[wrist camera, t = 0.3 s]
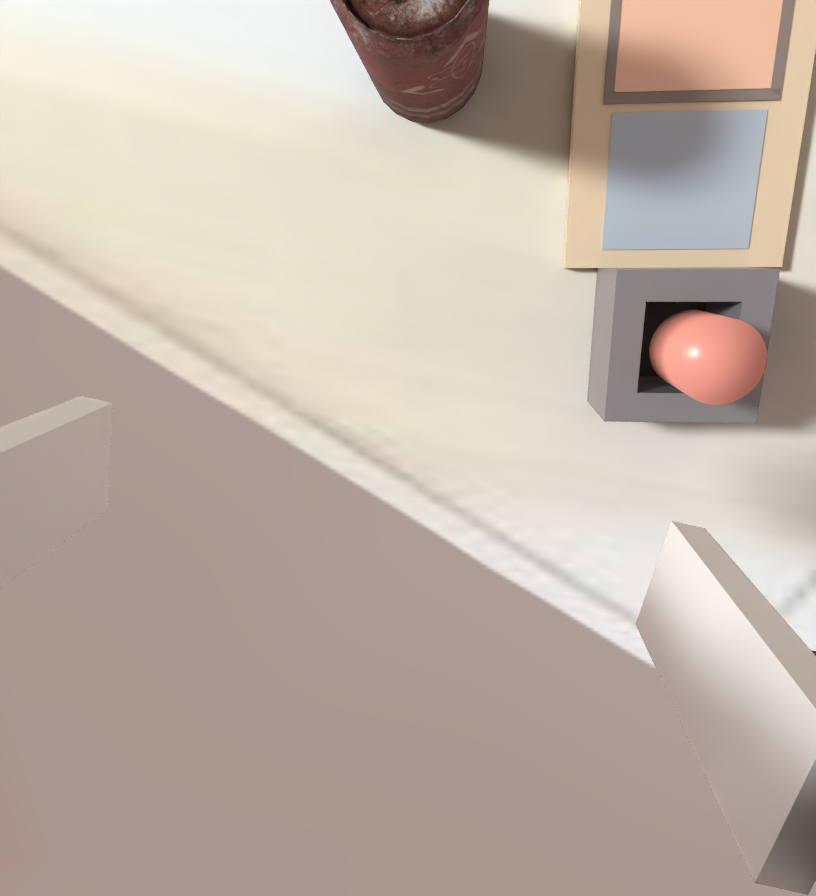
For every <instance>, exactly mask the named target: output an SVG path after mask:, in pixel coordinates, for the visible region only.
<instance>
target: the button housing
mask: <svg viewBox="0 0 816 896" xmlns="http://www.w3.org/2000/svg"><path fill="white" fill-rule="evenodd" d="M779 272H780V269H770V268H751V267H683V268H597V281H596V294H595V307H594V321H593V334H592V347H591V361H590V374H589V387H588V400H587V401H588V402H589V404H590V405H591V406H592V407H593V408H594V410H595V411H596V412H597V413H598V414H599V416H600V417H601V418H602V419H603V420H604V421H619V422H696V423H756V421H757V414H758V408H759V401H760V395H761V388H762V382H763V375H764V373H763V375H762V377H761V379H760V381H759V382H758V384H757V385H756V386H755V387H754V389H753V390H751V391H750V392H749V393H748V394H747V395H745V396H744V397H742V398H740V399H739V400H737V401H734V402H731V403H728V404H723V405H709V404H704V403H701V402H698V401H696V400H695V399H693V398H691V397H690V396H688V395H687V394H685V393H683V392H682V391H680V390H679V389H677V388H676V387H674V386H672V385H671V384H669V383H668V382H666V381H665V380H663V379H662V378H661V377H659V376H639V368H640V358H641V348H642V337H643V327H644V317H645V307H646V302H706V307H705V312H709V313H713V314H717V315H721V316H726V317H730V318H734V319H738V320H741V321H744V322H746V323H748V324H750V325H751V326H752V327H754V328H755V329H756V330H757V331H758V332H759V334H760V335H761V336H762V338H763V340H764V343H765V346H766V350H767V349H768V343H769V337H770V330H771V324H772V317H773V311H774V304H775V298H776V291H777V285H778V278H779Z"/></svg>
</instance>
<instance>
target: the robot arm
mask: <svg viewBox="0 0 816 896" xmlns="http://www.w3.org/2000/svg"><path fill="white" fill-rule="evenodd" d="M111 421H112V403H110V402H106V401H101V400H96V399H91V398H87V397H82V396H80V397H77V398H74V399H72V400H69V401H67V402H64V403H62V404H59V405H56V406H54V407H51V408H49V409H46V410H44V411H41V412H38V413H36V414H33V415H31V416H28V417H26V418H23V419H20V420H18V421H15V422H13V423H10V424H7V425H5V426H2V427H0V589H1V588H3V587H4V586H5V585H7V584H8V583H9V582H11V581H12V580H13V579H15V578H16V577H17V576H19V575H20V574H22V573H23V572H24V571H26V570H27V569H28V568H30V567H31V566H32V565H34V564H35V563H36V562H38V561H39V560H41V559H42V558H43V557H45V556H46V555H47V554H48V553H50V552H51V551H53V550H54V549H55V548H57V547H58V546H60V545H61V544H62V543H63V542H65V541H66V540H68V539H69V538H70V537H72V536H73V535H74V534H76V533H77V532H78V531H80V530H81V529H83V528H84V527H85V526H87V525H88V524H89V523H91V522H92V521H93V520H95V519H96V518H97V517H99V516H100V515H101V514H103V513H104V512H106V511H107V495H108V478H109V457H110V440H111ZM636 626H637V628H638V630H639V632H640V635H641V637H642V639H643V641H644V643H645V645H646V648H647V650H648V652H649V654H650V656H651V658H652V661H653V663H654V665H655V667H656V669H657V672H658V674H659V676H660V678H661V680H662V682H663V684H664V687H665V689H666V691H667V693H668V695H669V697H670V699H671V702H672V704H673V706H674V708H675V711H676V712H677V715H678V717H679V719H680V721H681V724H682V726H683V728H684V730H685V732H686V734H687V737H688V739H689V741H690V743H691V745H692V747H693V750H694V752H695V754H696V756H697V758H698V761H699V763H700V764H701V767H702V769H703V771H704V774H705V776H706V778H707V780H708V782H709V784H710V786H711V789H712V791H713V793H714V795H715V797H716V799H717V802H718V804H719V806H720V808H721V810H722V813H723V815H724V817H725V819H726V821H727V823H728V826H729V828H730V830H731V832H732V834H733V836H734V838H735V841H736V843H737V845H738V847H739V849H740V852H741V854H742V856H743V858H744V860H745V863H746V864H747V867H748V869H749V871H750V873H751V876H752V878H753V880H754V882H755V883H758V884H762V885H767V886H771V887H776V888H780V889H785V890H789V891H794V892H798V893H803V894H809V892H810V890H811V888H812V886H813V884H814V882H815V881H816V651H811V650H810V649H809V648H808V647H807V645H806V644H805V643H804V642H803V641H802V640H801V638H800V637H799V636H798V635H797V634H796V633H795V632H794V630H793V629H792V628H791V627H790V626H789V625H788V623H787V622H786V621H785V620H784V619H783V618H782V617H781V615H780V614H779V613H778V612H777V611H776V610H775V608H774V607H773V606H772V605H771V604H770V603H769V601H768V600H767V599H766V598H765V597H764V596H763V595H762V593H761V592H760V591H759V590H758V589H757V588H756V586H755V585H754V584H753V583H752V582H751V581H750V580H749V578H748V577H747V576H746V575H745V574H744V573H743V571H742V570H741V569H740V568H739V567H738V566H737V565H736V563H735V562H734V561H733V560H732V559H731V558H730V556H729V555H728V554H727V553H726V552H725V551H724V550H723V548H722V547H721V546H720V545H719V544H718V543H717V541H716V540H715V539H714V538H713V537H712V536H711V535H710V533H709V532H708V531H707V530H706V529H705V528H701V527H696V526H692V525H687V524H682V523H677V522H673V521H672V523H671V526H670V528H669V531H668V534H667V537H666V540H665V543H664V545H663V548H662V551H661V554H660V557H659V560H658V562H657V565H656V568H655V571H654V574H653V577H652V579H651V582H650V585H649V588H648V591H647V594H646V597H645V599H644V602H643V605H642V608H641V611H640V614H639V616H638V619H637V622H636Z"/></svg>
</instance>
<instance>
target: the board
mask: <svg viewBox="0 0 816 896" xmlns="http://www.w3.org/2000/svg"><path fill="white" fill-rule="evenodd" d="M815 51H816V0H579V8H578V24H577V41H576V57H575V74H574V91H573V107H572V124H571V140H570V157H569V174H568V190H567V207H566V223H565V240H564V257H563V268H683V267H782V263H783V257H784V250H785V244H786V237H787V231H788V224H789V218H790V212H791V205H792V199H793V192H794V186H795V179H796V173H797V166H798V160H799V154H800V147H801V141H802V134H803V128H804V121H805V115H806V108H807V102H808V96H809V89H810V83H811V76H812V70H813V63H814V57H815Z"/></svg>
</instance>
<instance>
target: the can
mask: <svg viewBox="0 0 816 896" xmlns="http://www.w3.org/2000/svg"><path fill="white" fill-rule="evenodd" d="M330 2H331V3H332V5H333V7H334V9H335V11H336V13H337V15H338V17H339V19H340V21H341V22H342V24H343V26H344V28H345V30H346V32H347V34H348V36H349V38H350V40H351V41H352V43H353V45H354V47H355V49H356V51H357V53H358V55H359V57H360V59H361V61H362V62H363V64H364V66H365V68H366V70H367V72H368V74H369V76H370V78H371V80H372V81H373V83H374V85H375V87H376V89H377V91H378V92H379V94H380V96H381V98H382V100H383V102H384V103H385V104H387V105H388V106H389V107H390V108H391V109H392V110H393V111H394V112H395V113H396V114H397V115H400V116H402V117H404V118H406V119H408V120H411V121H414V122H426V123H431V122H435V121H438V120H442V119H446V118H448V117H449V116H451V115H452V114H454V113H455V112H457V111H458V110H460V109H461V108H462V107H463V106H464V105H465V104H466V102H467V101H468V100H469V99H470V97H471V96H472V95H473V93H474V91H475V89H476V86H477V84H478V82H479V79H480V77H481V73H482V63H483V54H484V45H485V35H486V26H487V17H488V7H489V0H330Z"/></svg>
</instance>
